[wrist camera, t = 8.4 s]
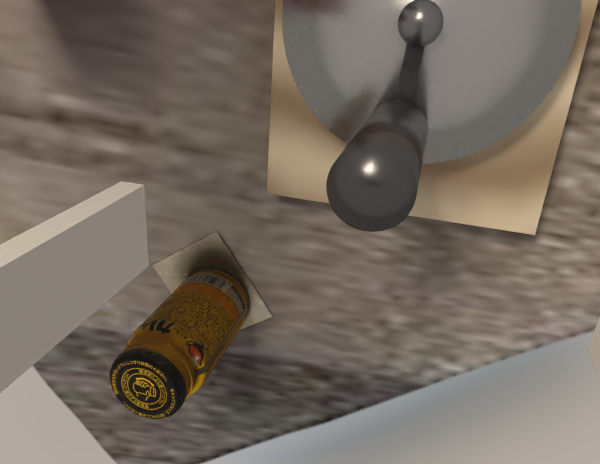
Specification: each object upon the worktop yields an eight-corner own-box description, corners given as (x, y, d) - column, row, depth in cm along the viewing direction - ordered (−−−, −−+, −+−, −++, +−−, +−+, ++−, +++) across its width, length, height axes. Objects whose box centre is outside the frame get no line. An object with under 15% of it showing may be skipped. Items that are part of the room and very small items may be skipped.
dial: (310, -160, 29) (208, -284, 16) (624, -126, 26) (779, -246, 14) (274, 130, 35) (183, 192, 23) (520, 181, 32) (563, 282, 20)
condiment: (207, 343, 47) (135, 442, 36) (153, 264, 45) (60, 343, 34) (273, 315, 44) (216, 413, 33) (218, 229, 42) (139, 304, 31)
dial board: (295, -221, 30) (284, -239, 28) (649, -227, 26) (666, -247, 24) (274, 185, 39) (265, 195, 37) (530, 223, 35) (535, 236, 33)
